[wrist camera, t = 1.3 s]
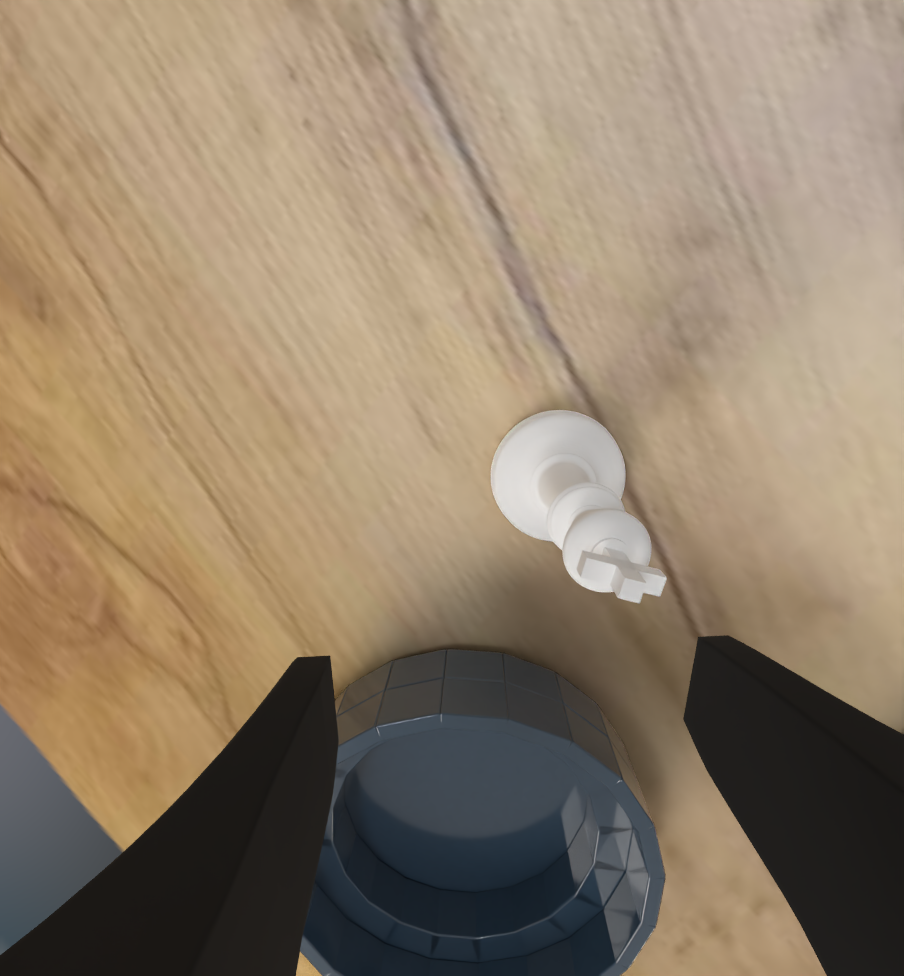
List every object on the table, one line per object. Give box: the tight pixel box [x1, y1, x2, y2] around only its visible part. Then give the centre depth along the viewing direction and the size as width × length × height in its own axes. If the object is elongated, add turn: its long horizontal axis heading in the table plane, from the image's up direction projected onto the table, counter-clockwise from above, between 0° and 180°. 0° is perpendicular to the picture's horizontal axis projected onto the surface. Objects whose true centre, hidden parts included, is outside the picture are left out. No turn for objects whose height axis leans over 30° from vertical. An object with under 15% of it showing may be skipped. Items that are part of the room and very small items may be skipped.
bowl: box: [300, 649, 665, 976], centre depth 21 cm, size 14×14×5 cm
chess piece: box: [491, 410, 667, 603], centre depth 15 cm, size 5×5×10 cm
